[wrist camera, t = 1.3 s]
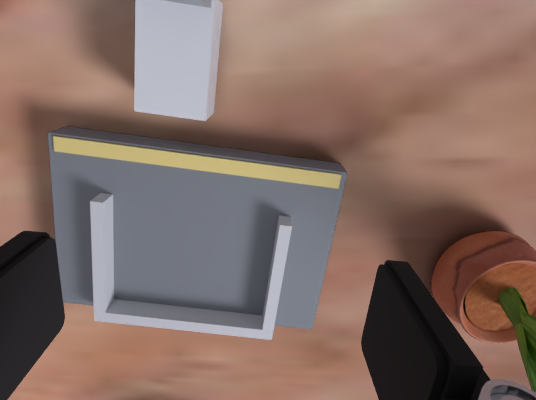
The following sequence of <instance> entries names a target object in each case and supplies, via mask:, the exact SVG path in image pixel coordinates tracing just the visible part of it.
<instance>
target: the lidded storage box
mask: <svg viewBox="0 0 536 400" xmlns="http://www.w3.org/2000/svg"><path fill="white" fill-rule="evenodd" d="M222 12H223V4H222V3H221V1H220V0H135V86H134V111H137V112H144V113H151V114H158V115H165V116H172V117H180V118H187V119H194V120H201V121H206V120H207V119H208V118H209V117H210V116H211V115H212V114H213V113H214V105H215V94H216V82H217V70H218V59H219V47H220V35H221V24H222Z"/></svg>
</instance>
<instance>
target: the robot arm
mask: <svg viewBox="0 0 536 400" xmlns="http://www.w3.org/2000/svg"><path fill="white" fill-rule="evenodd" d="M64 319H65V314H64V306H63V297H62V289H61V281H60V273H59V264H58V256H57V248H56V242H55V240H54V239H53V238H50V236H49V234H48V233H45V232H33V231H23V232H21V233H19V234H18V235H17V236H15V237H14V238H12V239H11V240H9V241H8V242H6V243H5V244H4V245H2V246H1V247H0V400H7V399H8V398H9V397H10V395H11V394H12V393H13V391H14V390H15V389H16V388H17V386H18V385H19V384H20V382H21V381H22V380H23V378H24V377H25V376H26V374H27V373H28V372H29V371H30V369H31V368H32V367H33V365H34V364H35V363H36V361H37V360H38V359H39V358H40V356H41V355H42V354H43V352H44V351H45V350H46V348H47V347H48V346H49V344H50V343H51V342H52V341H53V339H54V338H55V337H56V335H57V334H58V333H59V331H60V330H61V328H62V326H63V324H64ZM361 344H362V351H363V354H364V357H365V360H366V363H367V366H368V369H369V372H370V375H371V378H372V381H373V384H374V387H375V389H376V392H377V395H378V398H379V400H536V392H534V391H532V390H530V389H529V388H527V387H525V386H523V385H520V384H518V383H515V382H512V381H508V380H504V379H493V380H490V379H489V377H488V376H487V374H486V373H485V372H484V370H483V369H482V368H483V366H482V365H481V363H480V362H479V361H478V359H477V358H476V356H475V355H474V354H473V352H472V351H471V349H470V348H469V347H468V345H467V344H466V342H465V341H464V340H463V338H462V337H461V336H460V334H459V333H458V331H457V330H456V329H455V327H454V326H453V324H452V323H451V322H450V320H449V319H448V317H447V316H446V315H445V313H444V312H443V310H442V309H441V308H440V306H439V305H438V303H437V302H436V301H435V299H434V298H433V297H432V295H431V294H430V292H429V291H428V290H427V288H426V287H425V285H424V284H423V283H422V281H421V280H420V278H419V277H418V276H417V274H416V273H415V271H414V270H413V269H412V267H411V266H410V264H409V263H408V262H404V261H391V260H387V261H386V262H385V264H384V265H381V264H380V265H379V267H378V270H377V274H376V278H375V283H374V287H373V291H372V296H371V300H370V304H369V309H368V313H367V317H366V322H365V326H364V330H363V335H362V341H361Z"/></svg>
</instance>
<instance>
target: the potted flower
mask: <svg viewBox="0 0 536 400" xmlns="http://www.w3.org/2000/svg"><path fill="white" fill-rule="evenodd" d="M431 288H432V294H433V297H434V299H435V301H436V302H437V303H438V305H439V306H440V308H441V309H442V310H443V311H444V312H445V313H446V314H447V315H448V316H449V317H450V318H451V319H453V320H454V321H456V322H457V323H459V324H461V325H462V327H463V328H464V330H465V331H466V332H467V333H468V334H469V335H470V336H472V337H474V338H475V339H477V340H480V341H483V342H487V343H497V344H500V343H510V342H515V341H517V342H518V346H519V350H520V353H521V357H522V360H523V363H524V367H525V370H526V373H527V377H528V380H529V383H530V386H531V389H532V391H534V392H536V251H535V250H534V249H533V248H532V247H531V246H530V245H529V244H528V243H527V242H526V241H525V240H523V239H522V238H520V237H519V236H517V235H514V234H512V233H508V232H502V231H487V232H482V233H477V234H472V235H469V236H467V237H464V238H462V239H460V240H458V241H457V242H455V243H454V244H452V245H451V246H450V247H449V248H448V249H447V250H446V251H445V252H444V253H443V254H442V256H441V257H440V259H439V260H438V262H437V264H436V267H435V269H434V273H433V276H432V283H431Z"/></svg>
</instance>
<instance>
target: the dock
mask: <svg viewBox="0 0 536 400" xmlns="http://www.w3.org/2000/svg"><path fill="white" fill-rule="evenodd" d="M48 142H49V156H50V170H51V183H52V197H53V211H54V225H55V239H56V248H57V256H58V264H59V273H60V281H61V289H62V297H63V302H65V303H74V304H83V305H92V306H94V321H101V322H110V323H120V324H129V325H138V326H147V327H157V328H166V329H175V330H185V331H194V332H203V333H213V334H222V335H231V336H240V337H250V338H259V339H268V340H272V336H273V330H274V325H275V326H284V327H293V328H302V329H311V330H312V328H313V324H314V319H315V315H316V310H317V306H318V302H319V297H320V293H321V288H322V284H323V279H324V275H325V270H326V266H327V262H328V257H329V253H330V248H331V244H332V239H333V235H334V231H335V226H336V222H337V217H338V213H339V208H340V204H341V199H342V195H343V191H344V186H345V182H346V177H347V171H346V170H345V169H344V167H343V166H342V165H341V163H334V162H327V161H320V160H312V159H305V158H297V157H290V156H283V155H275V154H268V153H261V152H253V151H246V150H239V149H231V148H224V147H216V146H209V145H202V144H194V143H187V142H180V141H172V140H165V139H158V138H150V137H143V136H135V135H128V134H121V133H113V132H106V131H99V130H91V129H84V128H77V127H69V126H66V127H63V128H60V129H57V130H54V131H51V132H48Z"/></svg>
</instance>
